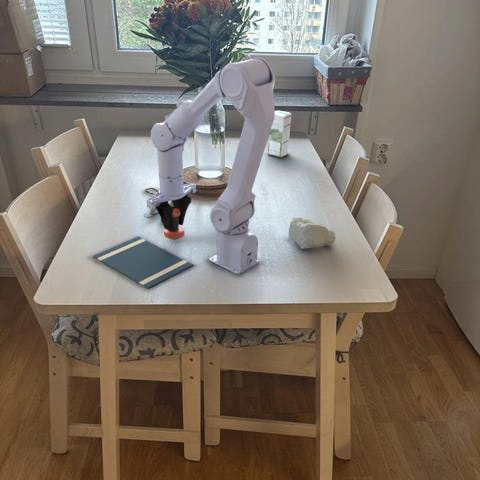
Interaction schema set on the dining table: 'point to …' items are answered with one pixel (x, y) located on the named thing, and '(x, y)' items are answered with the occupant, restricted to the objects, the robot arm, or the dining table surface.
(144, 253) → the tea towel
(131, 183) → the dining table surface
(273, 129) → the syrup box
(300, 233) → the decorative stone
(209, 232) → the dining table surface
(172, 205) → the hacksaw
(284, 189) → the dining table surface
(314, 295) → the dining table surface
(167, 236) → the orange thread spool
